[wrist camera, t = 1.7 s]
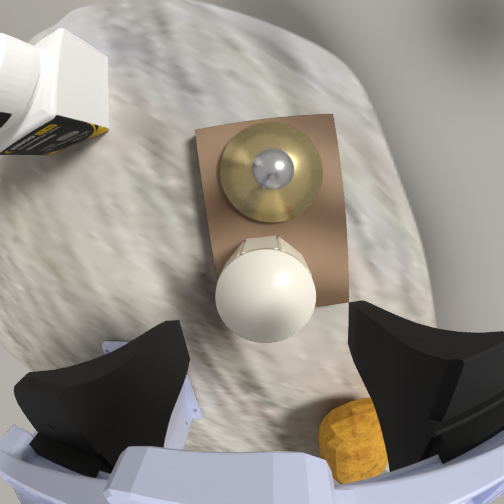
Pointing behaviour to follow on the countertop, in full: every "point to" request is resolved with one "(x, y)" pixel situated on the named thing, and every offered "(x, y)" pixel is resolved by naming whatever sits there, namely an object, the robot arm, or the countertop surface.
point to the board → (291, 231)
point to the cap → (265, 290)
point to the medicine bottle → (51, 94)
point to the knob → (271, 172)
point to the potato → (353, 442)
